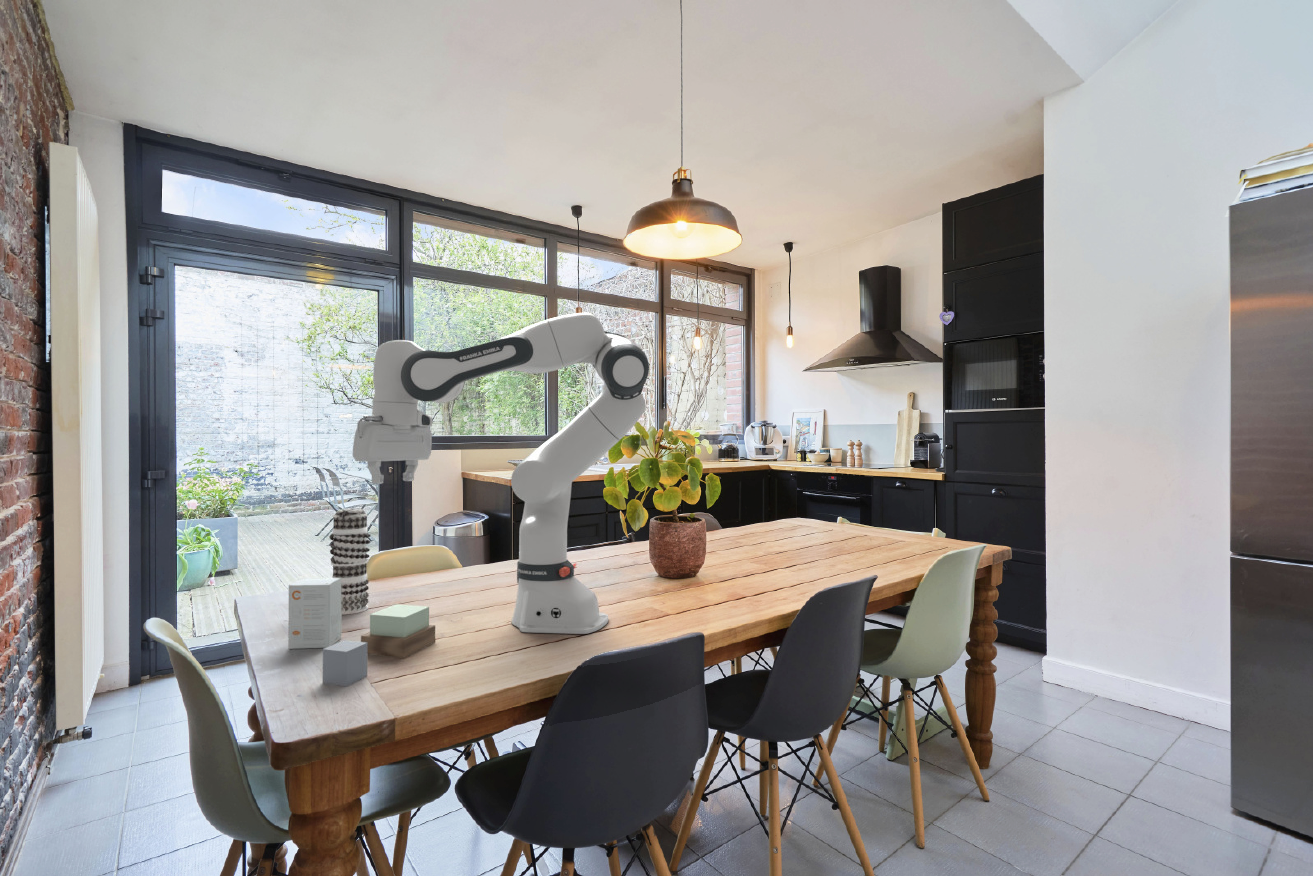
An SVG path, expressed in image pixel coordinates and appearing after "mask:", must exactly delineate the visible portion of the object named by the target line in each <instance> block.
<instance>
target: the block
mask: <svg viewBox="0 0 1313 876" xmlns="http://www.w3.org/2000/svg"><path fill="white" fill-rule="evenodd" d="M365 677H368V654H367V643H366V642H361V641H355V640H346V639H345V640H341V641H339V642H336V643H334V644H333V645H331V646H329V647H327V648H322V684H326V685H334V686H342V687H348V686H350V685H353V684H354V683H356V682H358V681H360V680H362V679H364V678H365Z"/></svg>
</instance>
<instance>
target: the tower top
mask: <svg viewBox="0 0 1313 876" xmlns="http://www.w3.org/2000/svg"><path fill="white" fill-rule="evenodd" d="M429 625H430V606H424V605H423V606H422V605H411V604H398V603H396V604H393V605H390V606H389V607H388V606H387V607H386V608H383V609H381V610H378V611H376V612H372V613H370V614H369V632H370V634H371V635H381V636H392V637H403V638H405V637H407V636H409V635H411V634H413V633H415V632H417V631H420V630H422V629H424V628H426V627H428V626H429Z"/></svg>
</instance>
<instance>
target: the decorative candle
mask: <svg viewBox="0 0 1313 876" xmlns="http://www.w3.org/2000/svg"><path fill="white" fill-rule="evenodd" d="M364 510H365V509H363V508H360V507H357V508H353V507H352V508H351V507H350V508H341V509H338V510H337V511H336V512H335V514H334V515H332V516H331V517H332V518H333V528H332V532H331V534H330V535H329V536H328V537H329V540H330V541H331V542H330V544H329V547H330V548H331V549H329V552H330V554H331V555H332V556H331V558H330V565H331V566H332V576H331V578H341V613H342V615H343V616H344V615H352V614H353V615H354V614H357V613H362V612H365V611H367V610H368V609H369V605H368V604H369V601H370V600H369V599H368V598H369V596H370V594H369V592H367V591H368V590H369V586H368V584H369V582H370V581H369V579H368V572H367V564H368V563H369V558H370V554H368V552H370V550H371V549H370V548H369V547H367V545H369V544H370V543H371V541H370V540H369V539H368V538H370V537H371V534H369V532H368V516H369V514H367V513H366V512H365V511H364Z"/></svg>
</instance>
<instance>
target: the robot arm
mask: <svg viewBox="0 0 1313 876" xmlns="http://www.w3.org/2000/svg"><path fill="white" fill-rule="evenodd" d="M374 355H375V356H374V362H373V363H374V364H373V372H372V373H373V374H372V383H373V387H374V396H373V398H372V404H371V405H372V408H371V409H372V411H371V412H372V415H366V414H365V415H363V416H362V417H361V418H359V420H358V421H357V425H356V430H355V433H354V438H353V445H352V458H353V460H354V461H356V462H365V463H367V469H368V471H369V474H370V475H371V483H372V484H373V485H375V484H376V485H378V484H379V485H381V484H384V476H385V475H384V474H382V473H381V471H380V468H381V466H382V462H394V461H397V462H398V461H405V465H406V466H407V467H406V470H405V472H403V473H402V480H403V481H404V482H412V481H414V479H415V472H416V471H417V469H418V466H419V461H420V460H421V461H422V460H423V461H425V460H429V458H430V456H431V454H432V444H433V443H432V441H433V439H432V437H433V436H432V431H431V429H430V428H429V427H432V425H433V418H432V417H431V416H429V415H428V414H426V413H425V412H423V411H422V410H421V409H419V408H418V407H419V406H418V401H421V402H431V403H437V404H446V403H449V402H452V401H454V400H456V399H457V398H459V396H461V394H462V392H463V390H464V387H465V383H466V382H469V381H471V380H474V379H479V378H481V377H486V376H489V375H493V374H495V373H499V372H501V373H502V372H510V371H511V372H521V373H527V374H530V375H536V374H543V373H551V372H554V371H559V370H562V369H563V368H568V367H570V366H574V365H576V364H583V363H584V364H585V363H586V364H591V365H592V367H593V368H594V369H595V371H596V373H597V374H598V377H600V379H601V380H602V381H603V383H604V384H603V388H602V389H601V392H600V393H599V394H598V396H597V397H595V399H593V400H592V401H591V402H590V403H589V404H588V405H586V407H584V408H583V409H582V410H581V411H580V412H579V413H578V414H577V415H576V416H575V417H574V418H573V419H572V420H570V421H569V422H568V423H567V424H566V425H565V426H564V427H562V428H561V430H559V431H558V432H557V433H555V434H554V435H552V436H550V438H549V439H547V440H546V441H545V442H544V443H543V444H541V445H540V446H539V447H537V448H536V449H535V450H534V451H532V452H531V453H530V454H529V455H528V456H526V458H524V459H523V460H522V461H521V462H519V463H518V464H517V465H516V467H515V468H514V469H513V471H512V474H511V477H510V479H511V480H510V484H511V488H512V491H513V493H514V494H515V496H516V497H518V498H519V499H520V500H522V501H523V502H524V507H523V511H522V512H523V513H522V519H521V521H520V524H519V532H518V533H519V539H518V541H519V545H518V547H519V548H518V550H519V551H518V553H519V554H518V559H519V560H518V561H517V562H516V563H517V564H516V565H517V566H516V568H517V569H516V582H517V595H516V602H515V607H514V612H513V615H512V618H511V620H510V621H511V624H512V625H514V626H515V627H517V628H518V629H519V631H520V632H522V633H536V634H537V633H539V634H540V633H541V634H569V635H570V634H573V635H574V634H575V635H586V634H591V633H593V632H594V633H595V632H597V631H598V630H600V629H602V628H604V626H606V625H607V623H608V622H609V615H608V613H605V612H600V607H599V601H598V597H597V595H596V593H595V592H594V591H592V590H591V589H590V588H589V587H588V586H586V585H585V584H584V583H582V581H580V580H579V579H578V578H577V577H575V576H574V575H575V569H576V568H577V562H576V563H573V564H572V562H570V561H569V560H568V559H567V558H568V555H567V554H568V521H569V515H570V505H571V497H572V483H573V482H574V481H576V479H578V477H580V476H581V475H582V474H583V473H584V472H585V471H587V470H588V469H589V468H591V467H592V466H593V465H594V464H595V463H597V462H598V461H599V460H600V459H601V458H602V457H604V456H605V455H606V453H608V452H609V451H610V450H611V449H612V448H613V447H614V446H615V445H617V443H619V441H620V440H622V438H624V437H625V436H626V435H627V434H628V432H630V430H632V428H633V427H634V426H635V425H636V424H637V422H638V421H639V420H640V419H641V417H642V415H644V413H645V410H646V401H645V400H646V399H645V398H644V396H643V394H642V392H643V389H644V386H645V384H646V381H647V379H648V377H649V374H650V363H649V359H648V356H647V354H646V353H645V352H644V351H643V350H642V348H640V346H639V345H638V344H637V343H636V342H635V341H633V340H632V339H629V338H628V337H626V336H624V335H623V334H619V333H614V332H609V331H606V330H604V326H603V324H602V322H601V321H600V319H598V317H597V316H595V315H594V314H592V313H589V312H577V313H576V312H575V313H570V314H565V315H560V316H556V317H552V318H548V319H545V320H542V321H539V322H536V323H534V324H531V325H528V326H525V327H523V328H522V329H519V330H518V331H515V332H513V333H511V334H508V335H506V336H504V337H503V336H502V337H501V338H498V339H495V340H492V341H491V340H490V341H489V342H484V343H480V344H477V345H476V344H475V345H474V346H470V347H469V346H468V347H466V348H462V349H458V350H455V351H454V350H453V351H439V350H430V349H429V350H428V349H424V348H422V347H421V346H419V345H418V344H417V343H415V341H412V340H406V339H405V340H404V339H396V340H395V339H393V340H389V341H385V342H384V343H381V344H380V345H378V347H377V349H376V352H375V354H374Z"/></svg>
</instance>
